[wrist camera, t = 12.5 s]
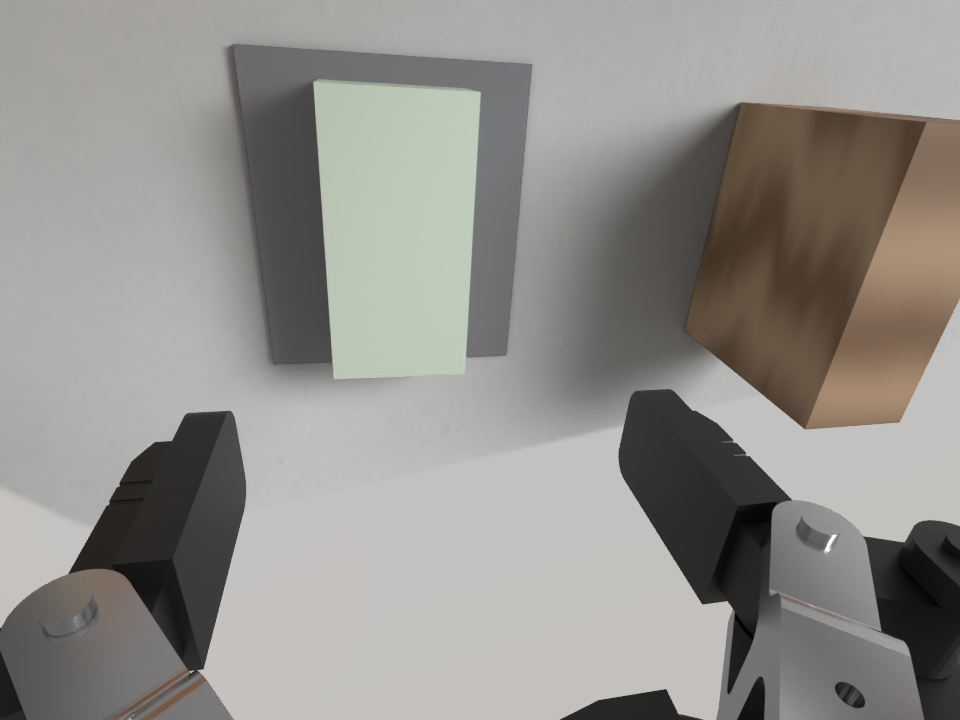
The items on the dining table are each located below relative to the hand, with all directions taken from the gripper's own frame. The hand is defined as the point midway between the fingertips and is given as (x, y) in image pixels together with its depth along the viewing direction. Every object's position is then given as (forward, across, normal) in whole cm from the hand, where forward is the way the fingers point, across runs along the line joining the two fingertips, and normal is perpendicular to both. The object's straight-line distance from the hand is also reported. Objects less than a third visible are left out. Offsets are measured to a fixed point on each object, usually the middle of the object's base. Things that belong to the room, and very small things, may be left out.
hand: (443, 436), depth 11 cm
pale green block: (+17, 0, 0) cm, 17 cm away
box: (+17, -19, 0) cm, 25 cm away
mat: (+17, 0, 0) cm, 17 cm away
